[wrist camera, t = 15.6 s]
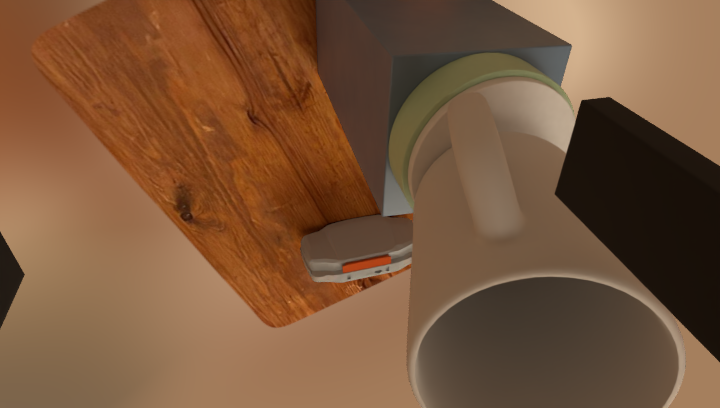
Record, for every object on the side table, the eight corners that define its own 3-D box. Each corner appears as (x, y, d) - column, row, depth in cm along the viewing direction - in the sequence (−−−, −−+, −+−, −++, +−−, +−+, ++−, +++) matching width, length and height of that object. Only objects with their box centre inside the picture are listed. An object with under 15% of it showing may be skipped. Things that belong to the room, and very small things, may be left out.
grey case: (299, 245, 61) (308, 291, 55) (296, 227, 59) (305, 273, 53) (408, 224, 63) (430, 265, 57) (409, 206, 61) (430, 247, 55)
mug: (598, 255, 25) (701, 447, 16) (440, 289, 28) (446, 475, 18) (554, 28, 20) (665, 107, 11) (366, 93, 23) (321, 205, 13)
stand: (314, -37, 42) (392, 55, 24) (422, -40, 44) (573, 44, 26) (317, 73, 48) (382, 217, 29) (412, 67, 50) (529, 198, 31)
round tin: (393, 57, 24) (414, 81, 21) (571, 46, 26) (608, 67, 23) (383, 216, 29) (398, 249, 27) (528, 197, 31) (554, 226, 29)
